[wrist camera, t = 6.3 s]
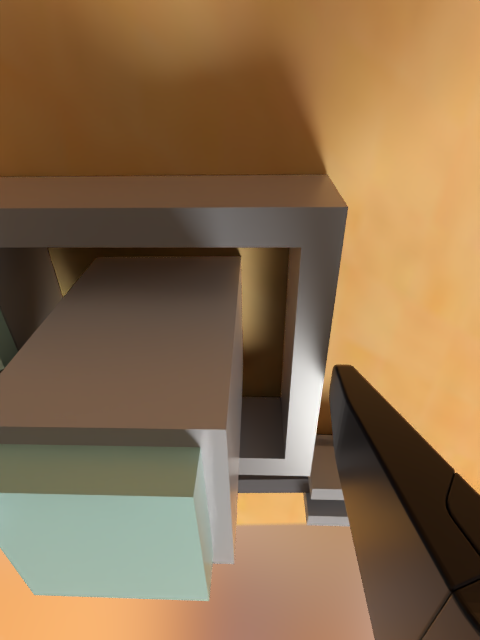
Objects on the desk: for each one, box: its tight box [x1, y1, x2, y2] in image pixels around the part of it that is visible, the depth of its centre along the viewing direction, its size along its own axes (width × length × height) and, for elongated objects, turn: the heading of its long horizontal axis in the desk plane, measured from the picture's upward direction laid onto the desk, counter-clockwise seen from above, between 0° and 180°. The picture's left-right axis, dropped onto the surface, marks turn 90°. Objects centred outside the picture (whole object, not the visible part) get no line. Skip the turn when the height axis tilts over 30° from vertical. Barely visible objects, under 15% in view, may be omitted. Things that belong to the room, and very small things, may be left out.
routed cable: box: [238, 435, 350, 526], centre depth 14 cm, size 11×2×2 cm, turn 91°
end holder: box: [0, 175, 348, 476], centre depth 10 cm, size 8×8×3 cm
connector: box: [0, 256, 243, 601], centre depth 9 cm, size 4×4×7 cm
